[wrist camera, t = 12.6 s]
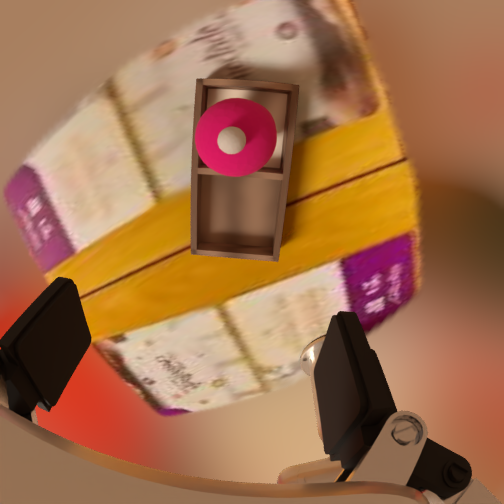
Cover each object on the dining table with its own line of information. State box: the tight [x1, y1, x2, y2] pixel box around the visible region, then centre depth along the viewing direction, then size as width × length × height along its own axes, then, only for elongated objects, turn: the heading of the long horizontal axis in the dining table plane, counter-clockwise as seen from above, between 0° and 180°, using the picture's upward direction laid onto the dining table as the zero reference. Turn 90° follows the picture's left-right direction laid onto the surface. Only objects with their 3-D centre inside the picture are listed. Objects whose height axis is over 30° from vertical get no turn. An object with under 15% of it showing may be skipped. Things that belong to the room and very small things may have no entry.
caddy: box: [191, 79, 299, 262], centre depth 35 cm, size 12×23×4 cm, turn 175°
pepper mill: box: [195, 98, 277, 177], centre depth 25 cm, size 7×7×20 cm
